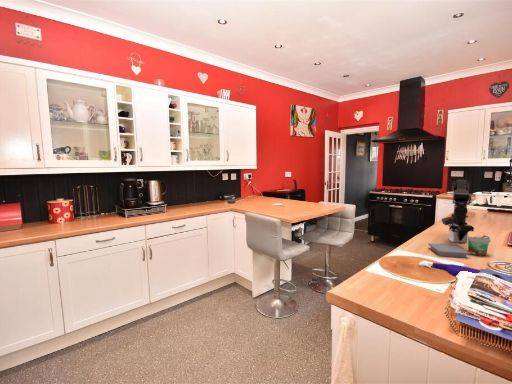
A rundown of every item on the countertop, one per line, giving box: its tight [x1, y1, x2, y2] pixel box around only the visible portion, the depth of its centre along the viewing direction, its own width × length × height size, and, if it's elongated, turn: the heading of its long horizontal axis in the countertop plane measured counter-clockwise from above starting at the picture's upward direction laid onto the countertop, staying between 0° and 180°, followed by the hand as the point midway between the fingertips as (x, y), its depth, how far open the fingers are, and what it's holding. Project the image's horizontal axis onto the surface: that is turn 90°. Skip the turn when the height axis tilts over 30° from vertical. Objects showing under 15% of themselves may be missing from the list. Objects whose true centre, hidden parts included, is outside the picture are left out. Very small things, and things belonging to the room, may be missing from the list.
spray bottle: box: [418, 260, 481, 277], centre depth 117 cm, size 3×11×24 cm
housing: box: [448, 229, 469, 244], centre depth 150 cm, size 5×7×7 cm
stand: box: [428, 242, 471, 259], centre depth 141 cm, size 14×14×3 cm
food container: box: [467, 234, 492, 257], centre depth 138 cm, size 12×6×10 cm, turn 105°
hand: (457, 239), depth 150 cm, fingers closed on housing, 5 cm apart
